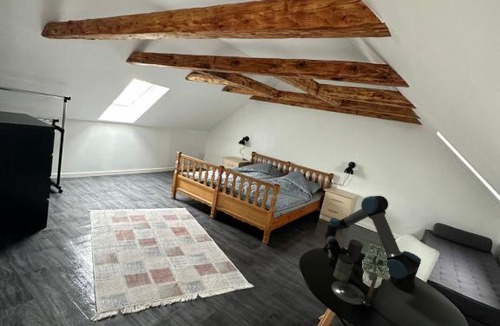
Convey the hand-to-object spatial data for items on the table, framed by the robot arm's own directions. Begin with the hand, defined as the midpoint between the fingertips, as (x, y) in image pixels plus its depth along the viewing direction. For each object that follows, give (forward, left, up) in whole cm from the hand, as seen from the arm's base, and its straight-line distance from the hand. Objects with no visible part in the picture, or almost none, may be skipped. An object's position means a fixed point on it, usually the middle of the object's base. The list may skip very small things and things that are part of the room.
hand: (340, 258), depth 194 cm
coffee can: (0, +10, -8) cm, 13 cm away
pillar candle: (-16, -18, -8) cm, 26 cm away
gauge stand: (-9, +33, -8) cm, 35 cm away
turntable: (0, +26, -8) cm, 27 cm away
